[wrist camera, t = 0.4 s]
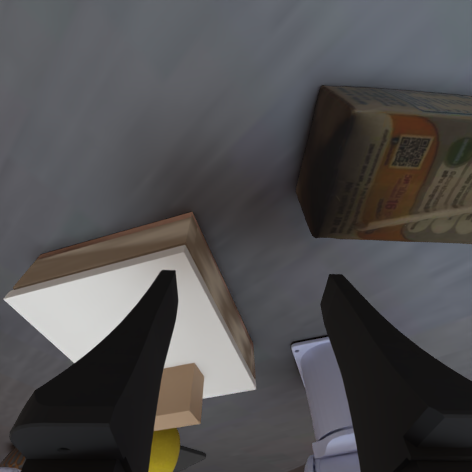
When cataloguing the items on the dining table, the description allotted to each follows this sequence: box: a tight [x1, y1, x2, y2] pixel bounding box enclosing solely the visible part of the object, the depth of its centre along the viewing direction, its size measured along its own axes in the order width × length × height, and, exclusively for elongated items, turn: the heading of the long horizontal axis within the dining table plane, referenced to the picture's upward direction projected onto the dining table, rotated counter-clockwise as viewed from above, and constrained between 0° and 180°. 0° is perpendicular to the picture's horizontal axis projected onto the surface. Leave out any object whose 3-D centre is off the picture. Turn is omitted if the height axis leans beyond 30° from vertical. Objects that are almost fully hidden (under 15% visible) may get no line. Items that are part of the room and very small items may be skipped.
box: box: [13, 212, 256, 379], centre depth 28 cm, size 18×14×4 cm
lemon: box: [148, 428, 180, 472], centre depth 40 cm, size 6×6×8 cm
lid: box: [4, 245, 256, 431], centre depth 24 cm, size 18×14×5 cm
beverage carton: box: [296, 86, 472, 244], centre depth 18 cm, size 8×19×7 cm, turn 86°
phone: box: [173, 446, 206, 472], centre depth 53 cm, size 7×1×15 cm
